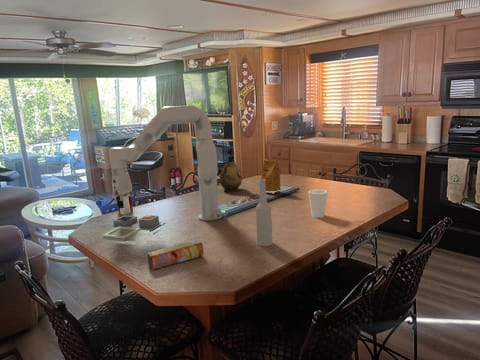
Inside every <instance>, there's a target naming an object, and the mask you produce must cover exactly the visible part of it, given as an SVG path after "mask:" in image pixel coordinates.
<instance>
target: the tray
mask: <svg viewBox="0 0 480 360" xmlns="http://www.w3.org/2000/svg"><path fill="white" fill-rule="evenodd" d="M119 230H131V231H130V232H129V233H127V234H124V235H116V234H114V233H115V232H117V231H119ZM139 231H141V228H133V227H122V226H117V227H115V228H114V229H112V230H110V231H108V232H106V233H104V234H102V237H103V240H104V239H105V241H114V242H115V241H116V242H123V243H124V242H127V241H128V239H126V238H128V237H130V236H132V235H134V234H135V233H137V232H139Z"/></svg>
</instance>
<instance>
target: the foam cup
mask: <svg viewBox="0 0 480 360" xmlns="http://www.w3.org/2000/svg"><path fill="white" fill-rule="evenodd" d="M308 198H309V205H310V211H311V217H312V218H317V219H320V218H321V219H322V218H324V217H325V214H326V207H327V206H326V205H327V198H328V191H327V190H325V189H317V188H316V189H311V190H308Z"/></svg>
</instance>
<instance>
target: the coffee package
mask: <svg viewBox="0 0 480 360" xmlns="http://www.w3.org/2000/svg"><path fill="white" fill-rule="evenodd" d="M260 173H261V178H260V179H265V180H266V181H265V186H266V191H277V190H280V191H281V169H280V168H279V165H278V160H276V159H275V160H269V159H266V158H264V160H263V164H262V169H261V172H260Z"/></svg>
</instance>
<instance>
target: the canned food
mask: <svg viewBox="0 0 480 360" xmlns="http://www.w3.org/2000/svg"><path fill="white" fill-rule="evenodd" d="M130 195H131V197H130V201H131V205H130V213H132V212H134V208H133V207H134V206H133V199H132V198H133V197H132V193H131V194H130ZM117 209H118V213H119V214H120V208H118V207H117Z"/></svg>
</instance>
